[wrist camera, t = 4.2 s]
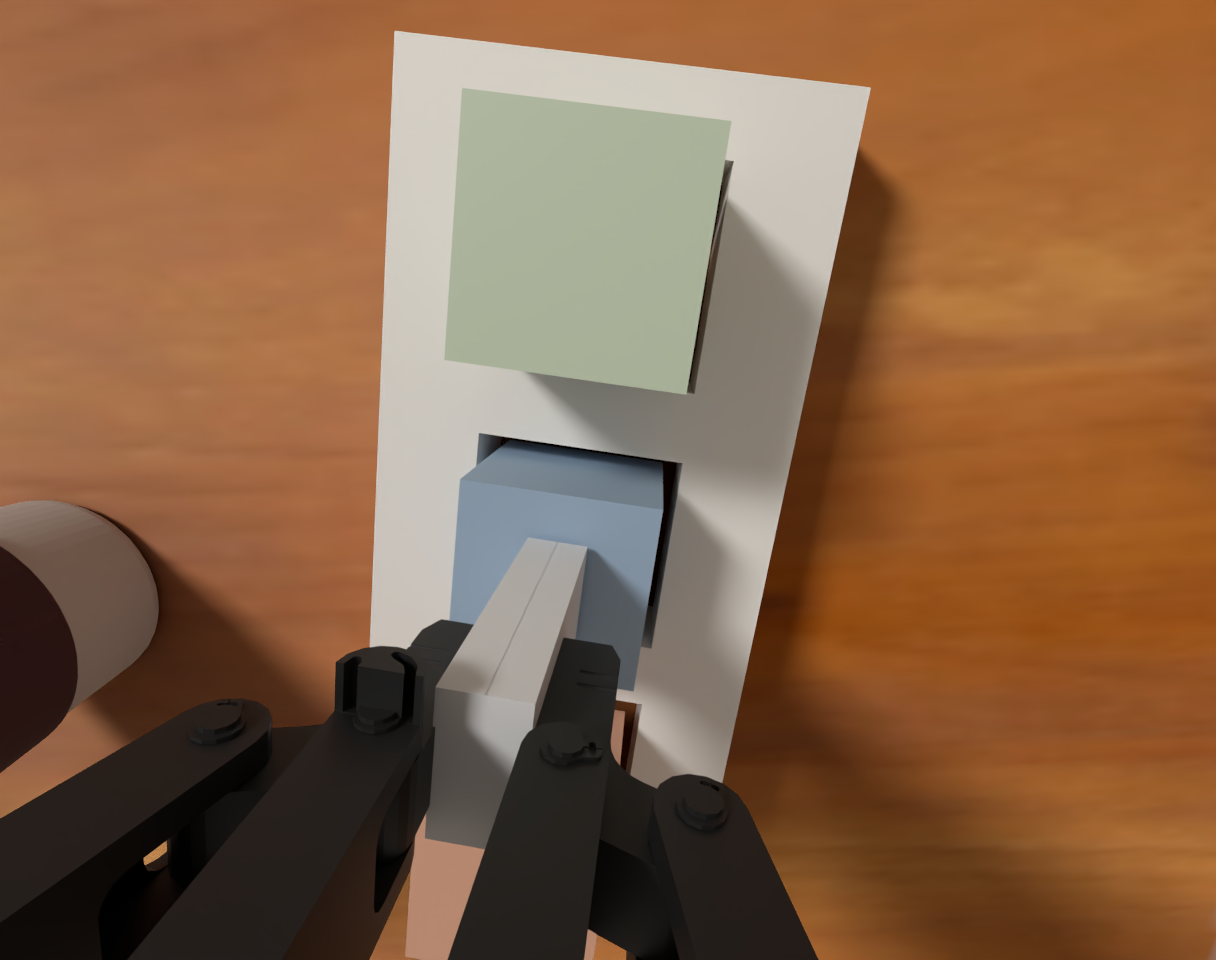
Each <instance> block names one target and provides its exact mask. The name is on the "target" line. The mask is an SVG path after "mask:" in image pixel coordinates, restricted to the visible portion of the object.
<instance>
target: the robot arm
mask: <svg viewBox="0 0 1216 960" xmlns="http://www.w3.org/2000/svg"><path fill="white" fill-rule="evenodd" d="M587 548H588V547H587V546H580V545H574V544H567V543H561V542H555V541H548V540H542V539H536V538H529V537H528V538H527V540H526V542H525V543H524V545H523V546H522V548H521V550H520V551H519V553H518V555H517V556H516V558H515V559H514V561H513V563H512V564H511V566H510V567H509V569H508V571H507V572H506V574H505V576H504V577H503V579H502V580H501V582H500V584H499V585H498V587H497V588H496V590H495V592H494V593H493V595H492V597H491V598H490V600H489V601H488V603H487V605H486V606H485V608H484V609H483V611H482V613H481V614H480V616H479V618H478V619H477V621H476V622H475V624H467V623H461V622H455V621H449V620H443V619H441V620H439V621H437V622H435V623H433V624H432V625H430V626H428V627H426V628H424V629H422V630H421V632H420V633H419V634H418V635H417V637H416V638H415V639H414V641H413V642H412V643H411V646H410V647H408V648H407V649H404V648H400V647H392V646H376V647H369V648H363V649H360V650H357V651H354V652H351V653H349V654H347V655H345V656H344V657H342V658H341V659H340V660H338V661H337V662H336V677H335V711H334V712H333V713H332V715H331V716H330V717H329V718H328V719H327V721H326V722H325V723H324V724H321V725H313V726H303V727H283V728H272V717H271V715H270V712H269V709H268V708H266V707H265V706H263V705H262V704H260V703H259V702H256V701H251V700H246V699H222V700H217V701H213V702H209V703H205V704H201V705H199V706H196V707H194V708H192V709H190V710H187V711H185V712H183V713H181V714H180V715H178V716H176V717H174V718H173V719H171V720H169V721H167V722H166V723H164V724H162V725H161V726H159V727H157V728H155V729H154V730H152V731H150V732H149V733H147V734H145V735H143V736H142V737H140V738H138V739H137V740H135V741H133V742H131V743H130V744H128V745H126V746H124V747H123V748H121V749H119V750H118V751H116V752H114V753H112V754H111V755H109V756H107V757H106V758H104V759H102V760H100V761H99V762H97V763H95V764H94V765H92V766H90V767H88V768H87V769H85V770H83V771H81V772H80V773H78V774H76V775H75V776H73V777H71V778H69V779H68V780H66V781H64V782H63V783H61V784H59V785H57V786H56V787H54V788H52V789H50V790H49V791H47V792H45V793H44V794H42V795H40V796H38V797H37V798H35V799H33V800H32V801H30V802H28V803H26V804H25V805H23V806H21V807H20V808H18V809H16V810H14V811H13V812H11V813H9V814H7V815H6V816H4V817H2V818H1V819H0V960H369V959H370V957H371V955H372V952H373V950H374V948H375V946H376V944H377V941H378V939H379V937H380V935H381V933H382V930H383V928H384V926H385V924H386V922H387V920H388V917H389V915H390V913H391V911H392V909H393V906H394V904H395V902H396V900H397V898H398V895H399V893H400V891H401V889H402V887H403V884H404V882H405V880H406V878H407V876H408V874H409V871H410V869H411V866H412V862H413V857H414V848H415V835H416V833H417V831H418V829H419V827H420V825H421V823H422V821H423V819H424V817H425V814H426V826H425V839H430V840H436V841H441V842H447V843H452V844H458V845H463V846H469V847H475V848H480V849H485V851H484V854H483V856H482V859H481V862H480V865H479V868H478V871H477V874H476V877H475V880H474V883H473V886H472V889H471V892H470V895H469V898H468V901H467V904H466V907H465V909H464V912H463V915H462V918H461V921H460V924H459V927H458V930H457V933H456V936H455V939H454V942H453V945H452V948H451V951H450V954H449V957H448V960H584V956H585V948H586V940H587V932H588V930H590V931H592V932H594V933H596V934H597V935H599V936H601V937H603V938H605V939H606V940H608V941H610V942H612V943H614V944H615V945H617V946H619V947H621V948H623V949H624V950H626V960H818V958H817V956H816V954H815V951H814V949H813V947H812V945H811V943H810V941H809V939H808V936H807V934H806V932H805V930H804V928H803V926H802V924H801V922H800V919H799V917H798V915H797V913H796V911H795V909H794V907H793V904H792V902H791V900H790V898H789V896H788V894H787V892H786V890H785V887H784V885H783V883H782V881H781V879H780V877H779V875H778V872H777V870H776V868H775V866H774V864H773V862H772V860H771V857H770V855H769V853H768V851H767V849H766V847H765V845H764V843H763V840H762V838H761V836H760V834H759V832H758V830H757V828H756V825H755V823H754V821H753V819H752V817H751V815H750V813H749V811H748V808H747V807H746V806H745V804H744V803H743V801H742V800H741V799H740V797H739V796H738V795H737V794H736V793H735V792H733V791H732V790H731V789H729V788H728V787H727V786H726V785H724V784H723V783H720V782H718V781H716V780H713V779H711V778H709V777H706V776H700V775H693V774H684V775H678V776H672V777H670V778H669V779H667V780H665V781H664V782H662V783H660V785H659V786H658V788H655V787H652V786H650V785H648V784H646V783H643V782H642V781H640V780H638V779H636V778H634V777H632V776H631V775H630V774H629V773H627V772H626V771H625V770H624V769H623V768H622V767H621V766H620V765H619V764H618V762H617V761H616V760H615V758H614V755H613V753H612V751H611V735H612V727H613V719H614V711H615V703H616V695H617V687H618V678H619V671H620V663H621V660H620V658H619V657H618V655H617V653H616V651H615V649H614V648H613V646H612V645H607V644H601V643H595V642H589V641H582V640H576V639H575V638H576V631H577V623H578V616H579V608H580V601H581V593H582V586H583V578H584V571H585V563H586V556H587ZM166 840H167V852H166V853H165V854H163V855H162V856H161V857H159V858H158V859H156V860H155V861H153V862H151V863H149V864H147V865H144V860H143V858H144V857H145V856H147V855H148V854H149V853H150V852H152V851H153V850H154V849H156V848H157V847H158V846H160V845H161V844H162V843H164V842H165V841H166Z"/></svg>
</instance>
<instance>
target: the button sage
mask: <svg viewBox="0 0 1216 960" xmlns="http://www.w3.org/2000/svg"><path fill="white" fill-rule="evenodd" d="M731 122H732V121H727V120H719V119H711V118H703V117H695V116H686V115H678V114H670V113H662V112H654V111H646V110H638V109H629V108H621V107H613V106H605V105H597V104H589V103H581V102H572V101H564V100H556V99H548V98H540V97H532V96H524V95H515V94H507V93H499V92H491V91H483V90H475V89H467V88H462V97H461V112H460V128H459V143H458V158H457V173H456V189H455V204H454V219H453V234H452V250H451V265H450V280H449V295H448V311H447V326H446V341H445V356H444V360H448V361H455V362H462V363H469V364H476V365H483V366H490V367H497V368H504V369H511V370H518V371H525V372H531V373H538V374H545V375H552V376H559V377H566V378H573V379H580V380H587V381H594V382H601V383H608V384H615V385H622V386H629V387H636V388H643V389H650V390H657V391H664V392H671V393H678V394H685V395H686V394H687V388H688V382H689V376H690V370H691V364H692V358H693V352H694V346H695V340H696V334H697V328H698V322H699V316H700V309H701V303H702V297H703V291H704V285H705V279H706V273H707V267H708V261H709V255H710V249H711V243H712V237H713V231H714V225H715V219H716V213H717V207H718V200H719V194H720V188H721V182H722V176H723V170H724V164H725V158H726V152H727V146H728V140H729V134H730V128H731Z"/></svg>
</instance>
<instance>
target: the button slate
mask: <svg viewBox="0 0 1216 960" xmlns="http://www.w3.org/2000/svg"><path fill="white" fill-rule="evenodd" d="M662 515H663V462H656V461H649V460H643V459H636V458H629V457H622V456H616V455H609V454H602V453H595V452H589V451H582V450H575V449H568V448H562V447H555V446H548V445H542V444H535V443H528V442H521V441H515V440H509V441H507V442H506V443H505V444H504V445H502V446H501V447H500V448H499V449H497V450H496V451H495V452H494V453H492V454H491V455H490V456H489V457H487V458H486V459H485V460H483V461H482V462H481V463H480V464H478V465H477V466H476V467H475V468H473V469H472V470H471V471H470V472H468V473H467V474H466V475H465V476H463V477H462V478H461V479H460V486H459V499H458V513H457V526H456V539H455V552H454V566H453V579H452V592H451V605H450V619H449V621H455V622H461V623H467V624H475V622H476V621H477V619H478V618H479V616H480V614H481V613H482V611H483V609H484V608H485V606H486V605H487V603H488V601H489V600H490V598H491V597H492V595H493V593H494V592H495V590H496V588H497V587H498V585H499V584H500V582H501V580H502V579H503V577H504V576H505V574H506V572H507V571H508V569H509V567H510V566H511V564H512V563H513V561H514V559H515V558H516V556H517V555H518V553H519V551H520V550H521V548H522V546H523V545H524V543H525V542H526V540H527V538H528V537H529V538H536V539H542V540H548V541H555V542H561V543H567V544H574V545H580V546H587V547H588V548H587V556H586V563H585V571H584V578H583V586H582V593H581V601H580V608H579V616H578V623H577V631H576V638H575V639H576V640H582V641H589V642H595V643H601V644H607V645H612V646H613V648H614V649H615V651H616V653H617V655H618V657H619V658H620V660H621V663H620V671H619V678H618V687H617V689H622V690H628V691H634V686H635V680H636V674H637V668H638V661H639V655H640V649H641V643H642V637H643V631H644V625H645V619H646V612H647V606H648V600H649V594H650V588H651V582H652V576H653V570H654V564H655V557H656V551H657V545H658V539H659V533H660V527H661V521H662Z"/></svg>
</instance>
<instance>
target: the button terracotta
mask: <svg viewBox="0 0 1216 960" xmlns="http://www.w3.org/2000/svg"><path fill="white" fill-rule="evenodd" d="M624 717H625V711H619V710H615V711H614V719H613V727H612V735H611V751H612V753H613V755H614V758H615V760H616V761H617V762H618V764H619V765H620V760H621V749H622V738H623V728H624ZM425 826H426V814H425V817H424V819H423V821H422V823H421V825H420V827H419V829H418V831H417V833H416V835H415V848H414V857H413V862H412V866H411V875H410V890H409V906H408V921H407V936H406V951H405V957H410V958H415V959H420V960H448V957H449V954H450V951H451V948H452V945H453V942H454V939H455V936H456V933H457V930H458V927H459V924H460V921H461V918H462V915H463V912H464V909H465V907H466V904H467V901H468V898H469V895H470V892H471V889H472V886H473V883H474V880H475V877H476V874H477V871H478V868H479V865H480V862H481V859H482V856H483V854H484V851H485V849H480V848H475V847H469V846H463V845H458V844H452V843H447V842H441V841H436V840H430V839H425ZM596 939H597V934H596V933H594V932H592V931H590V930H588V932H587V940H586V948H585V956H584V960H593V957H594V951H595V945H596Z"/></svg>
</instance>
